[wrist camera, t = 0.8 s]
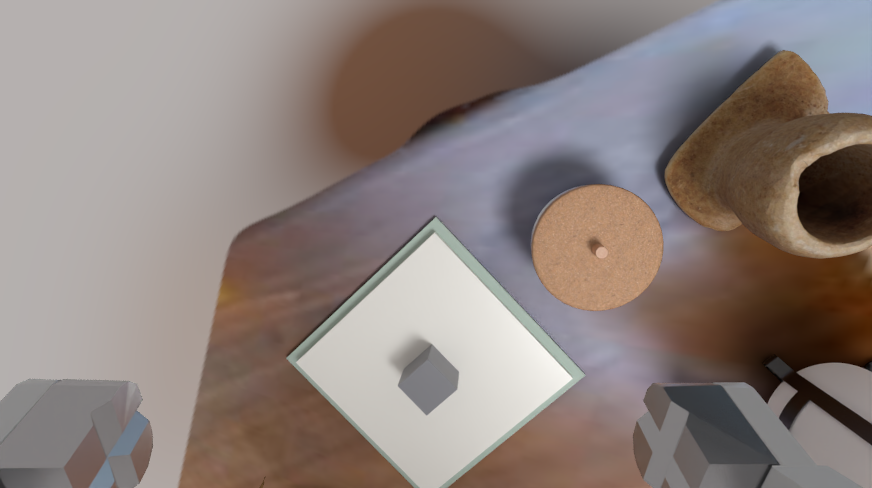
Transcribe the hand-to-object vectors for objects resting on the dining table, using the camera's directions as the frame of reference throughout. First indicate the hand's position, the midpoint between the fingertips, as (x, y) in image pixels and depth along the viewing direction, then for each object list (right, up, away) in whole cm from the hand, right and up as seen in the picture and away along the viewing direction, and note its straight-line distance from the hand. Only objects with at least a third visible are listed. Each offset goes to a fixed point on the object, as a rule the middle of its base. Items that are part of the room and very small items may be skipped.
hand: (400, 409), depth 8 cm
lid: (0, -10, +45) cm, 46 cm away
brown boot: (+30, +11, +40) cm, 51 cm away
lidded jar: (+15, +4, +42) cm, 45 cm away
